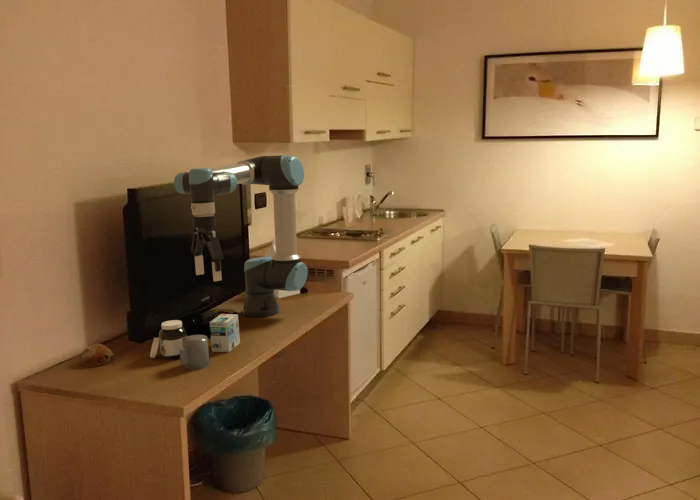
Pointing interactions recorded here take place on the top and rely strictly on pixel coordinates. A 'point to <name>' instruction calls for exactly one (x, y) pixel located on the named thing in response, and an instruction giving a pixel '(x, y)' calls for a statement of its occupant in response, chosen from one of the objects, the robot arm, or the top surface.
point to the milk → (277, 293)
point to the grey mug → (194, 352)
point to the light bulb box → (224, 332)
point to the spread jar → (169, 340)
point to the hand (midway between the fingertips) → (208, 277)
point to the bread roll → (96, 355)
